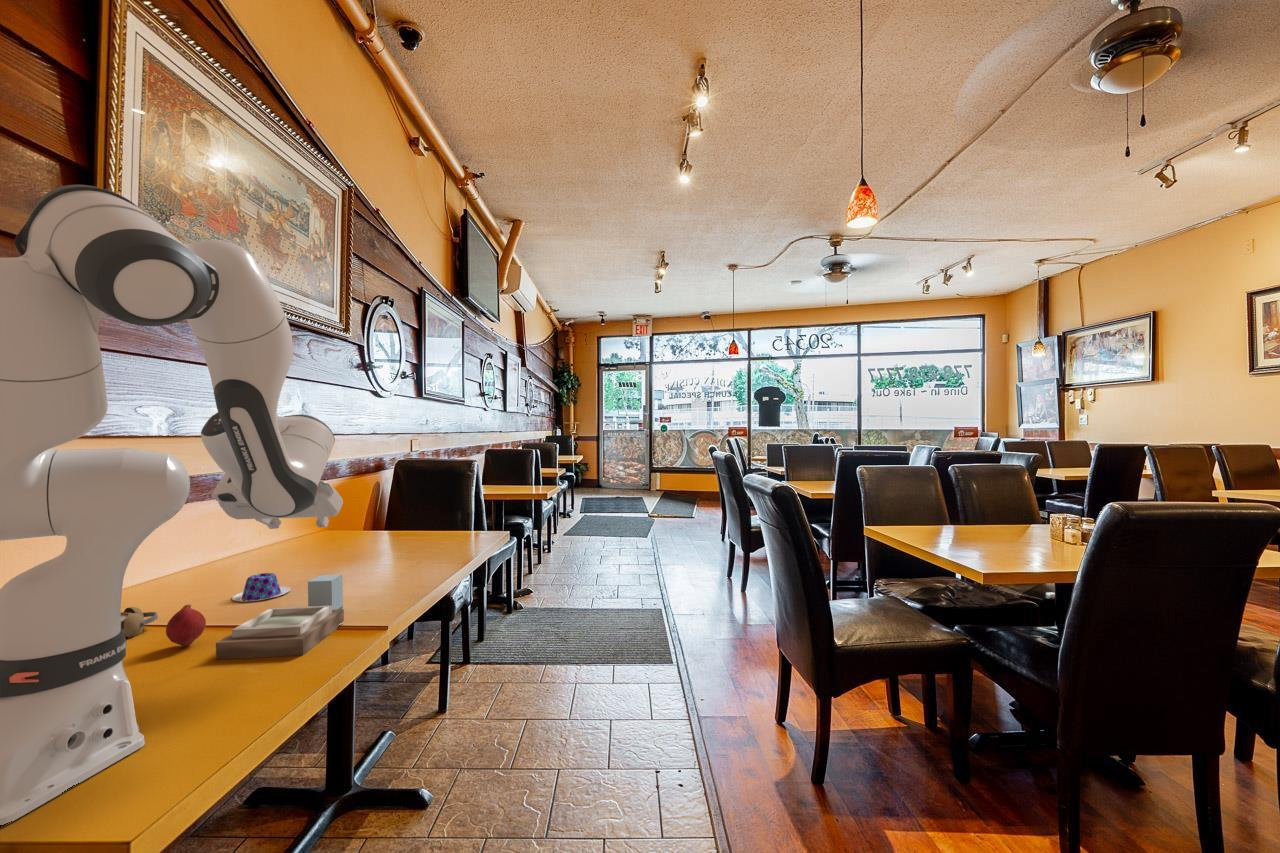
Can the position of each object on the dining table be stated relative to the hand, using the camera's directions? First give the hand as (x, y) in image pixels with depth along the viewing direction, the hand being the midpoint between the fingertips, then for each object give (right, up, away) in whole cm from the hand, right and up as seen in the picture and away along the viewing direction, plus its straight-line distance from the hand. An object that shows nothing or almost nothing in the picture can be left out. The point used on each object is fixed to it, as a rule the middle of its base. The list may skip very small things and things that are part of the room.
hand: (300, 525), depth 108 cm
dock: (-1, -22, -2) cm, 22 cm away
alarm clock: (-39, -23, +1) cm, 45 cm away
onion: (-19, -22, -5) cm, 30 cm away
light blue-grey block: (-2, -22, +13) cm, 26 cm away
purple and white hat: (-26, -23, +27) cm, 44 cm away
